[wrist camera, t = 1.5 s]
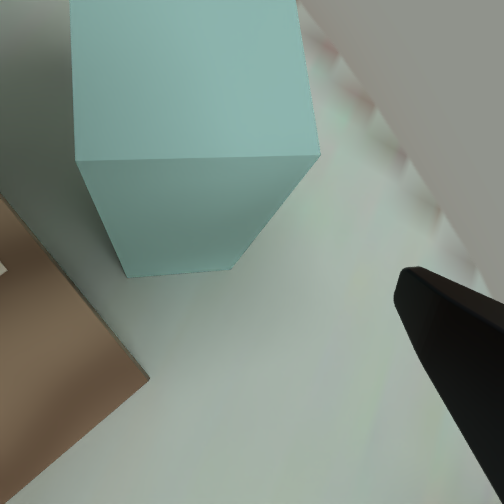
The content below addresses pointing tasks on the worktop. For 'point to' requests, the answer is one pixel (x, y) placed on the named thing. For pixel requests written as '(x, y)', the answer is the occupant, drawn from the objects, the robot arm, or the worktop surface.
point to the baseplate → (50, 359)
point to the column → (189, 124)
